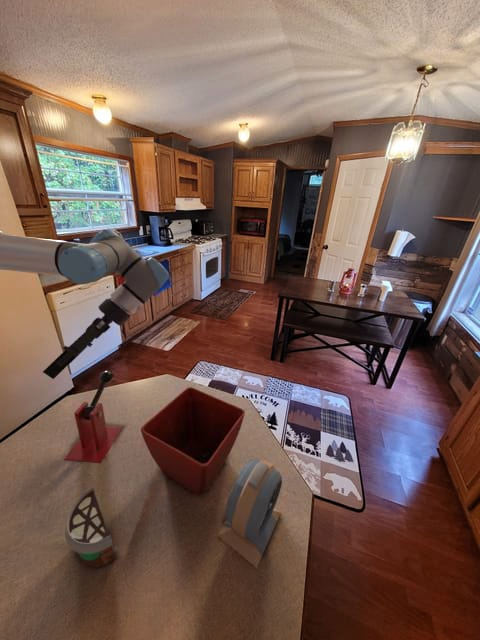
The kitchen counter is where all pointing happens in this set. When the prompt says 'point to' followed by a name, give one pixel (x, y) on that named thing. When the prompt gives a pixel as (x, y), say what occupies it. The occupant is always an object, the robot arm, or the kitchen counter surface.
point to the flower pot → (193, 437)
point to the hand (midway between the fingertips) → (57, 367)
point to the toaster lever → (98, 393)
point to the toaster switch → (92, 436)
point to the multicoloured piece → (89, 532)
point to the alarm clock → (252, 510)
